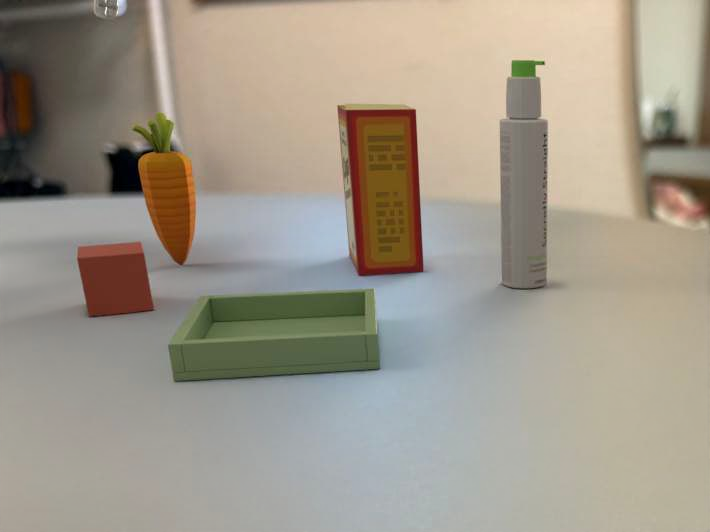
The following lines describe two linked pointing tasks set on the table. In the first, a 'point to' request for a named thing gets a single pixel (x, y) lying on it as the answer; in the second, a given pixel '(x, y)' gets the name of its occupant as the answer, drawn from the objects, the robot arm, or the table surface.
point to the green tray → (276, 335)
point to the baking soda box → (381, 187)
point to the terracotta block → (114, 278)
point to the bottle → (524, 180)
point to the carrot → (168, 189)
